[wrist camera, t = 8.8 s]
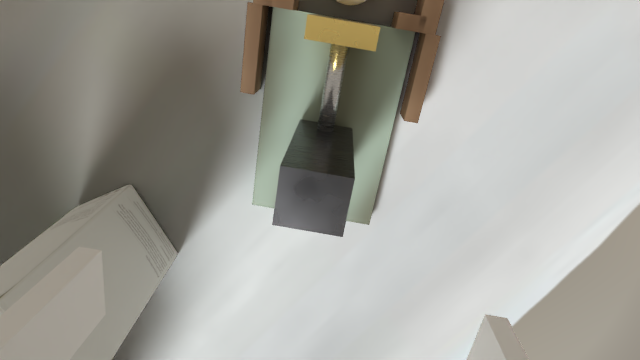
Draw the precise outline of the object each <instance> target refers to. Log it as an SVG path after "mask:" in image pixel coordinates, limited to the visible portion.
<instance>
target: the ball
mask: <svg viewBox="0 0 640 360" xmlns="http://www.w3.org/2000/svg"><path fill="white" fill-rule="evenodd" d="M336 1H338V2H339V3H342V4H344V5H358V4H361V3H363V2H365V1H366V0H336Z"/></svg>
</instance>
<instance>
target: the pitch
mask: <svg viewBox="0 0 640 360" xmlns="http://www.w3.org/2000/svg"><path fill="white" fill-rule="evenodd" d="M443 3H444V0H417V4H416V8H415V12H414V14H408V13H403V12H394V16H393V21H392V25H391V27H389V26H383V25H378V24H373V25H377V26H379V27H380V32H379V37H378V42H377V47H376V52H375V51H370V50H364V49H358V48H353V47H349V48H348V54H347V59H346V65H345V70H344V76H343V81H342V87H341V92H340V98H339V103H338V109H337V114H336V120H335V125H338V126H344V127H349V128H352V129H353V149H354V169H355V181H354V186H353V190H352V195H351V200H350V204H349V209H348V214H347V218H346V221H350V222H356V223H362V224H368V225H369V223H370V219H371V215H372V211H373V207H374V202H375V198H376V194H377V190H378V186H379V182H380V177H381V173H382V169H383V165H384V161H385V157H386V153H387V148H388V144H389V140H390V136H391V132H392V128H393V123H394V119H395V115H396V111H397V107H398V103H399V99H400V94H401V90H402V86H403V82H404V78H405V74H406V70H407V65H408V61H409V57H410V53H411V49H412V45H413V40H414V36H415V32H419V37H418V42H417V46H416V50H415V54H414V58H413V62H412V66H411V70H410V74H409V78H408V82H407V86H406V91H405V95H404V99H403V103H402V107H401V111H400V114H401V116H402V118H403V120H404V121H409V122H414V123H418V120H419V116H420V112H421V109H422V105H423V101H424V97H425V94H426V90H427V86H428V82H429V79H430V75H431V71H432V67H433V64H434V60H435V56H436V52H437V48H438V45H439V41H440V37H441V36H438V35H435V34H436V30H437V26H438V23H439V19H440V15H441V11H442V7H443ZM269 6H271V7H273V12H272V22H271V31H270V40H269V50H268V59H267V69H266V78H265V88H264V97H263V107H262V116H261V126H260V135H259V145H258V154H257V163H256V173H255V182H254V192H253V201H252V205H258V206H264V207H269V208H275V201H276V193H277V186H278V178H279V170H280V165H281V163H282V160H283V158H284V156H285V153H286V151H287V149H288V146H289V144H290V142H291V139H292V137H293V135H294V133H295V130H296V128H297V126H298V123H299V121H300V119H303V120H309V121H315V122H318V120H319V114H320V108H321V102H322V95H323V89H324V83H325V77H326V71H327V65H328V59H329V53H330V47H331V44H330V43H324V42H319V41H313V40H307V39H304V35H305V28H306V21H307V14H315V13H310V12H304V11H298V6H299V0H253V3H251V2H248V5H247V17H246V29H245V41H244V53H243V65H242V78H241V90H240V92H243V93H248V94H255V93H256V92H257V91H258V90H260V89H261V80H262V70H263V60H264V50H265V40H266V31H267V21H268V11H269ZM316 15H321V14H316ZM321 16H327V15H321ZM327 17H332V16H327ZM333 18H338V17H333ZM339 19H344V18H339ZM344 20H349V19H344ZM350 21H355V20H350ZM356 22H361V21H356ZM361 23H366V22H361ZM367 24H372V23H367Z"/></svg>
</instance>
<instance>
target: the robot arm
mask: <svg viewBox="0 0 640 360" xmlns="http://www.w3.org/2000/svg"><path fill="white" fill-rule="evenodd" d="M105 314H106V312H105V296H104V279H103V263H102V250H97V249H91V248H85V247H78V248H77V249H76V250H75V251H73V252H72V253H71V254H70V255H69V256H68V257H67V258H65V259H64V260H63V261H62V262H61V263H60V264H59V265H57V266H56V267H55V268H54V269H53V270H52V271H51V272H50V273H48V274H47V275H46V276H45V277H44V278H43V279H42V280H40V281H39V282H38V283H37V284H36V285H35V286H34V287H32V288H31V289H30V290H29V291H28V292H27V293H26V294H25V295H23V296H22V297H21V298H20V299H19V300H18V301H17V302H15V303H14V304H13V305H12V306H11V307H10V308H9V309H7V310H6V311H5V312H4V313H3V314H2V315H1V316H0V360H70V359H71V357H72V356H73V355H74V354H75V352H76V351H77V350H78V348H79V347H80V346H81V345H82V343H83V342H84V341H85V340H86V338H87V337H88V336H89V335H90V333H91V332H92V331H93V330H94V328H95V327H96V326H97V324H98V323H99V322H100V321H101V319H102V318H103V317H104V316H105ZM467 360H529V358H528V356H527V354H526V352H525V350H524V349H523V347H522V345H521V343H520V341H519V339H518V338H517V335H516V334H515V332H514V330H513V328H512V326H511V324H510V322H509V321H508V319H507V318H503V317H497V316H491V315H485V316H484V319H483V321H482V323H481V326H480V328H479V331H478V333H477V336H476V338H475V340H474V343H473V345H472V348H471V350H470V353H469V355H468V357H467Z"/></svg>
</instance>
